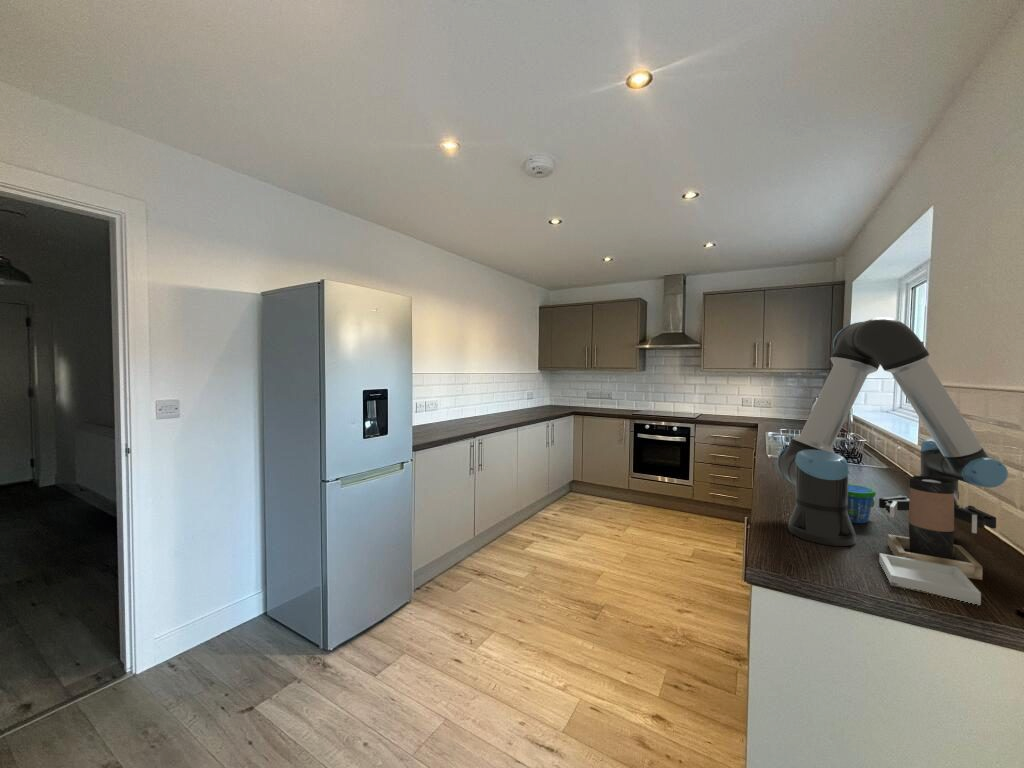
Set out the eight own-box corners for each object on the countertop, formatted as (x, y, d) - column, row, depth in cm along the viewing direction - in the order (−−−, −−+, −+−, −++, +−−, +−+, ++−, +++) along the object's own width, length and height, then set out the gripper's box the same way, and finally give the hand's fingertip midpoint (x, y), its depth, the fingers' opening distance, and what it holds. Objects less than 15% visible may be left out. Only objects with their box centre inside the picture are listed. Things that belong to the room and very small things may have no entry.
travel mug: (963, 569, 93) (964, 484, 93) (924, 566, 95) (925, 482, 95) (936, 555, 101) (936, 476, 101) (900, 553, 102) (901, 475, 102)
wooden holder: (899, 564, 96) (899, 552, 96) (887, 545, 107) (887, 534, 107) (982, 580, 89) (982, 566, 88) (960, 557, 100) (960, 545, 100)
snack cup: (847, 527, 120) (847, 494, 119) (815, 515, 130) (815, 484, 130) (891, 524, 122) (891, 491, 122) (856, 513, 132) (856, 482, 132)
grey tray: (890, 586, 86) (890, 575, 86) (879, 563, 97) (879, 553, 97) (980, 605, 79) (981, 593, 79) (957, 578, 89) (957, 567, 89)
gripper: (1009, 527, 100) (1014, 551, 86) (875, 504, 119) (862, 520, 105) (1009, 497, 100) (1014, 517, 86) (875, 478, 119) (862, 492, 105)
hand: (930, 519), depth 96 cm, fingers open, 13 cm apart
